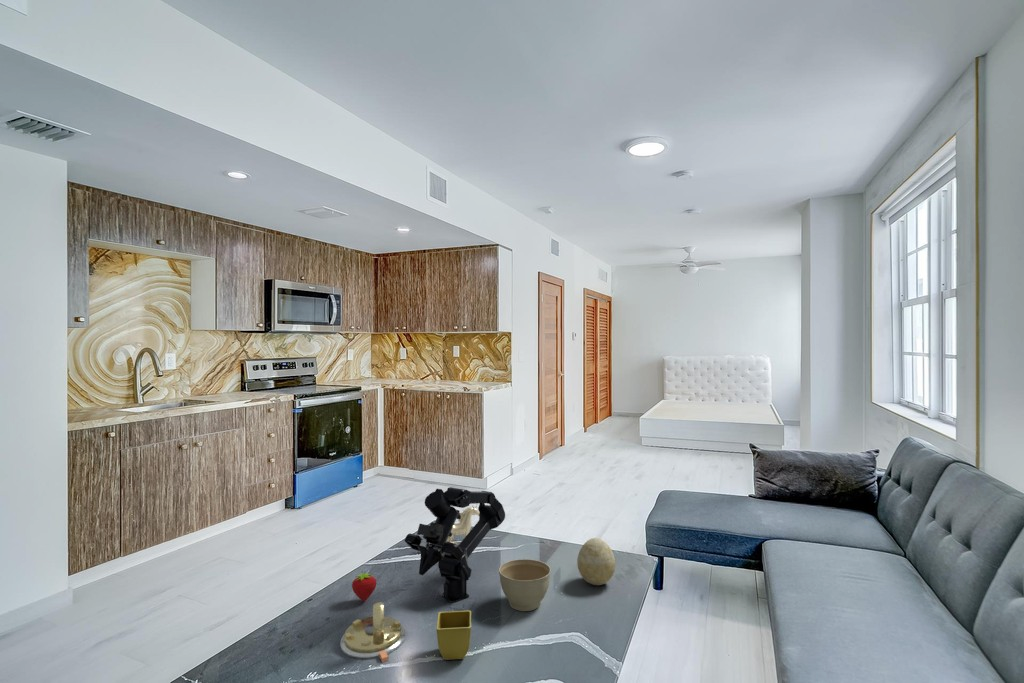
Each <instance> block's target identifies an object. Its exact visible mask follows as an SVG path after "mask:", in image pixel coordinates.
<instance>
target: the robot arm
mask: <svg viewBox="0 0 1024 683" xmlns="http://www.w3.org/2000/svg"><path fill="white" fill-rule="evenodd" d="M472 504H473V505H474V504H476V505H477V504H479V505H478V510H477V511H479V512H480V513H479V516H478V521H477V522H476V523H475V524H474V526H473V527H471V529H470V530H469V531H470V532H469V533H468V534H467V536H466V537H465V536H464V538H463V539H462V540H461V542H460V543H459V544H458V543H457V544H458V545H457V544H455V543H450V542H446V541H447V539H448V536H449V537H451V536H452V533H451V530H452V528H453V525H454V524H456V522H457V520H458V519H461V515H460V513H461V512H460V510H459V509H456V508H460V509H464V508H468V507H469V506H470V505H472ZM424 505H425V508H427V509H428V510H429V512H430V513H431V514H432V515H433V516H434V517H436V519H435V521H434V522H433V521H431V523H430V524H424V523H419V525H418V529H417V532H416V534H414V533H408V534H407V535H406V536H405V538H404V539H403V542H405V544H406V545H407V546H408V547H409V548H410V549H412V550H413V551H414V550H415V551H418V552H420V561H419V569H418V575H420V576H424V575H425V574H426V573H427V572H428V571H429V570H430V569H431V568H433V567H434V566H435V565H436V564H437V567H438V571H439V574H440V577H441V578H442V577H443V578H444V582H443V592H442V596H443V595H444V596H445V597H444V596H443V597H444V598H446V600H448V601H449V602H450V603H455V602H458V601H461V600H464V599H467V598H469V597H470V594H468V593H467V587H468V586H467V581H469V579H470V578H471V576H472V568H470V567H469V557H470V556H471V555H472V553H473V552H474V551H475V550H476V549H477V547H478V546H479V544H480V543H481V542H482V541H483V539H484V538H485V537H486V535H487V534H488V533H489V532H490V531H491V530H494V529H496V528H498V527H499V526H501V524H502V523H503V522H504V521H505V519H506V512H505V509H504V507H503V506H504V505H503V504H502V503H501V502H500V501H499V500H498V498H497V497H496V496H495V493H493V492H492V491H485V490H480V491H479V490H478V491H473V490H472V491H471V490H468V489H464V488H458V487H448V488H447V489H446V491H444V490H443V489H441V488H436V489H435V491H432V492H431V493H429V494H428V495H427V496H426V497H425V499H424ZM420 535H421V536H422V537H421V536H420Z"/></svg>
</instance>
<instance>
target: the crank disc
mask: <svg viewBox="0 0 1024 683" xmlns="http://www.w3.org/2000/svg"><path fill="white" fill-rule="evenodd" d="M351 623H352V624H351V625H350V626H349V627H347V629H346V630H345V631H344V634H343V635H344V643H345V646H346V647H347V648H348V649H349V650H351V651H354V652H358V653H373V652H378V651H382V650H384V649H387V648H389V647H391V646H392V645H394V644H395V643H396V642H397V641H398V640H399V639H400V637H401V626H402V624H401V622H400V620H399V619H396V618H393V617H389V616H385V603H384V602H381V601H380V602H375V603H373V605H372V616H370V617H366V618H363V619H358V618H357V619H356V620H354V621H352V622H351ZM370 623H373V634H366V633H365V627H366V626H367V625H368V624H370Z"/></svg>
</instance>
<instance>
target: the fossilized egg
mask: <svg viewBox="0 0 1024 683" xmlns="http://www.w3.org/2000/svg"><path fill="white" fill-rule="evenodd" d="M576 559H577V564H576V565H577V569H578V572H579V574H580V576H581V577H582V579H583V580H584V581H586V582H587V583H589V584H590V585H593V586H602V585H605V584H606V583H608V582H609V581H610V580H611V579H612V577H613V576H614V574H615V570H616V559H615V556H614V551H612V548H611V547H610V545H608V544H607V542H606V541H604V540H603V539H601V538H598V537H593V538H590V539H589V540H586V541H585V542H584V543H583V545H582V546H581V547H580V549H579V551H578V555H577V558H576Z"/></svg>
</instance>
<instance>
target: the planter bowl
mask: <svg viewBox="0 0 1024 683" xmlns="http://www.w3.org/2000/svg"><path fill="white" fill-rule="evenodd" d="M551 572H552V569H551V567H550V565H549V564H547V563H545V562H543V561H540V560H538V559H537V560H536V559H532V558H531V559H529V558H522V559H521V558H519V559H512V560H509V561H506V562H504V563H502V564H501V565H500V567H499V569H498V574H499V581H500V586H501V590H502V592H503V594H504V596H505V598H506V600H508V603H509V606H510V607H511V608H512V609H514V610H516V611H520V612H530V611H533V610H536V609H538V608H539V607H540V606H541V602H542V601H543V599H544V597H545V596H546V594H547V592H548V589H549V586H550V581H551V580H550V579H551Z"/></svg>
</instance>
